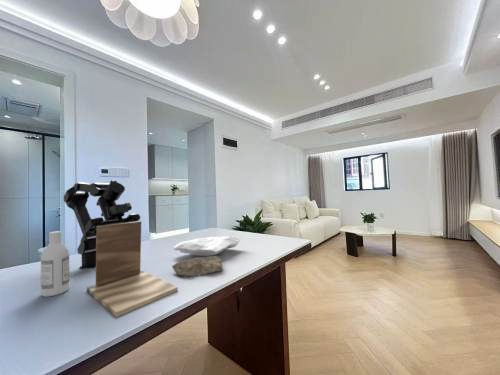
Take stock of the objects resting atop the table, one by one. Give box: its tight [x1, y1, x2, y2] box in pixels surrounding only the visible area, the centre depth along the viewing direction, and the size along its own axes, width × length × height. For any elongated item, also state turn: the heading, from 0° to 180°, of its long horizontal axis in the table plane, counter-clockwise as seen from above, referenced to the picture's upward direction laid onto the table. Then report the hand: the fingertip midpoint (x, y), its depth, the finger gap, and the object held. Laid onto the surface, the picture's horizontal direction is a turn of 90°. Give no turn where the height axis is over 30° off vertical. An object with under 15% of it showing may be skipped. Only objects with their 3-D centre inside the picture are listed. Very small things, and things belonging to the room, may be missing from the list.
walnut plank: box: [95, 220, 142, 286], centre depth 76 cm, size 2×14×20 cm, turn 142°
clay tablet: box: [171, 255, 223, 277], centre depth 88 cm, size 14×5×20 cm
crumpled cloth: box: [173, 236, 241, 257], centre depth 109 cm, size 24×35×9 cm
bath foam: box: [40, 230, 70, 298], centre depth 71 cm, size 7×7×20 cm
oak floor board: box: [86, 270, 178, 318], centre depth 70 cm, size 25×18×1 cm
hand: (122, 239), depth 83 cm, fingers open, 9 cm apart
